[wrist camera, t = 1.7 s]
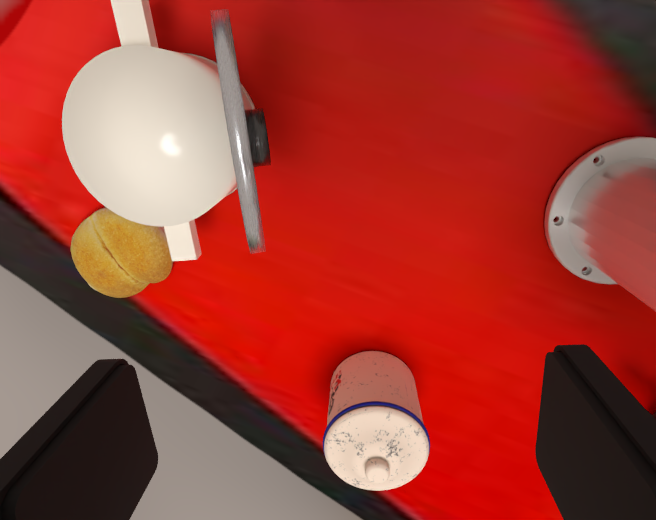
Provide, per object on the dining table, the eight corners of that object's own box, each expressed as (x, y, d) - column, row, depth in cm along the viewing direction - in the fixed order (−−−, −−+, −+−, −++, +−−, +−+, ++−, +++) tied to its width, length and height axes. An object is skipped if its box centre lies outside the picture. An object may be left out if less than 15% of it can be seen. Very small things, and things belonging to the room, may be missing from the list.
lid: (217, 31, 28) (246, 28, 28) (249, 222, 32) (273, 218, 32) (201, -20, 16) (251, -23, 17) (254, 289, 21) (292, 282, 21)
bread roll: (192, 262, 43) (177, 278, 39) (119, 299, 44) (97, 319, 41) (142, 185, 40) (120, 195, 36) (66, 228, 42) (38, 242, 38)
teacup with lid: (320, 353, 45) (309, 437, 34) (410, 340, 44) (428, 423, 33) (342, 446, 49) (338, 547, 38) (425, 437, 48) (446, 538, 37)
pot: (241, 0, 34) (209, -25, 27) (274, 230, 41) (256, 261, 33) (91, 19, 35) (20, 0, 28) (146, 240, 42) (101, 272, 34)
